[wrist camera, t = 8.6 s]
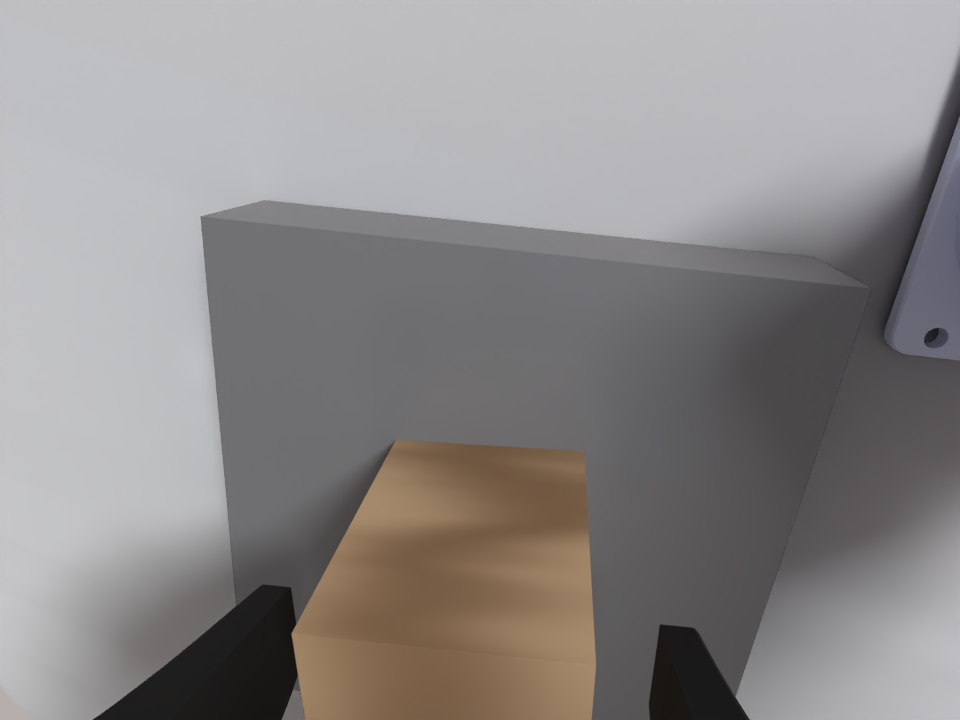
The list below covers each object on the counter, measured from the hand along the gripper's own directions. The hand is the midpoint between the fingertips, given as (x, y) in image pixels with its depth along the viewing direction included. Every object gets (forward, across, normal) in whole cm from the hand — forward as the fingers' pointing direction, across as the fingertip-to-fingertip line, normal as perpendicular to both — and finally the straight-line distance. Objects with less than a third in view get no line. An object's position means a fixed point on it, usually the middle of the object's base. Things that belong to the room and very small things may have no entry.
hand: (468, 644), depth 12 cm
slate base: (+7, 0, 0) cm, 7 cm away
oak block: (+4, 0, 0) cm, 4 cm away
